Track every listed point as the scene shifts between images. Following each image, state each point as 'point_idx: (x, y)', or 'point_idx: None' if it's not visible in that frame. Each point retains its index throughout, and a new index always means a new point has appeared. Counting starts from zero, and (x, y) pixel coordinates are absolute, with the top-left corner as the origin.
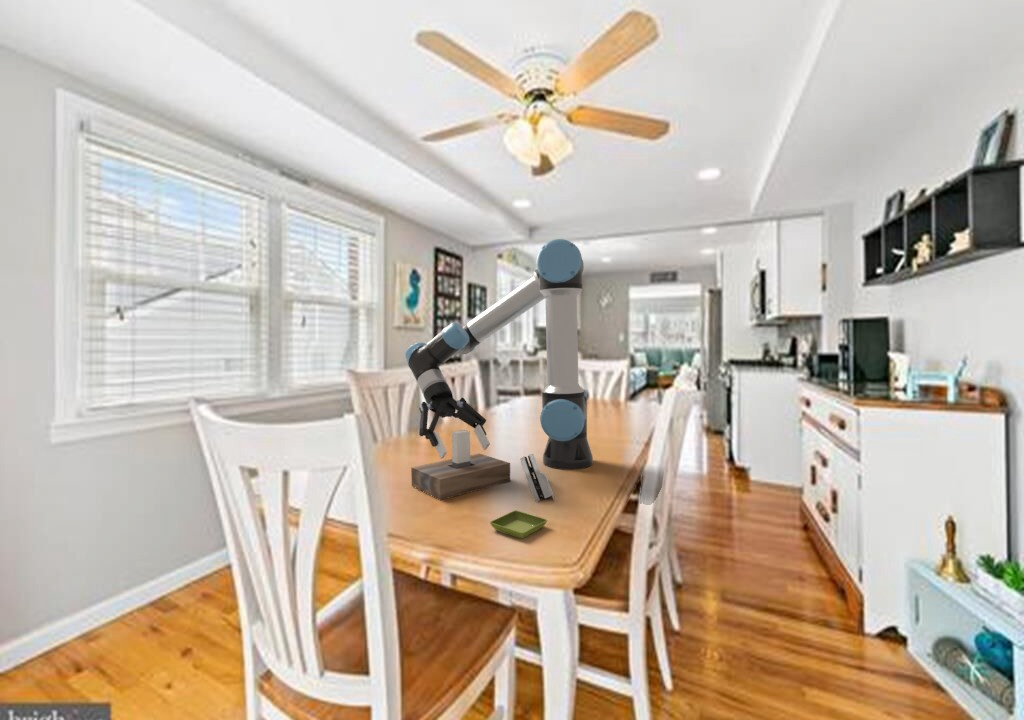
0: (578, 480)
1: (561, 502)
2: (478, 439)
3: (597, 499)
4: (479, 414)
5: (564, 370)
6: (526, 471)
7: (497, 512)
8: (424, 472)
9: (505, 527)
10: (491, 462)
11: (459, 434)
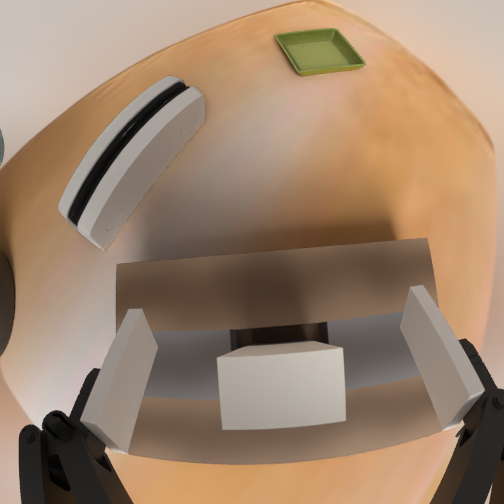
0: (47, 186)
1: None
2: (141, 396)
3: (117, 90)
4: (23, 482)
5: None
6: (192, 93)
7: (314, 113)
8: None
9: (350, 44)
10: (159, 316)
11: (318, 350)
